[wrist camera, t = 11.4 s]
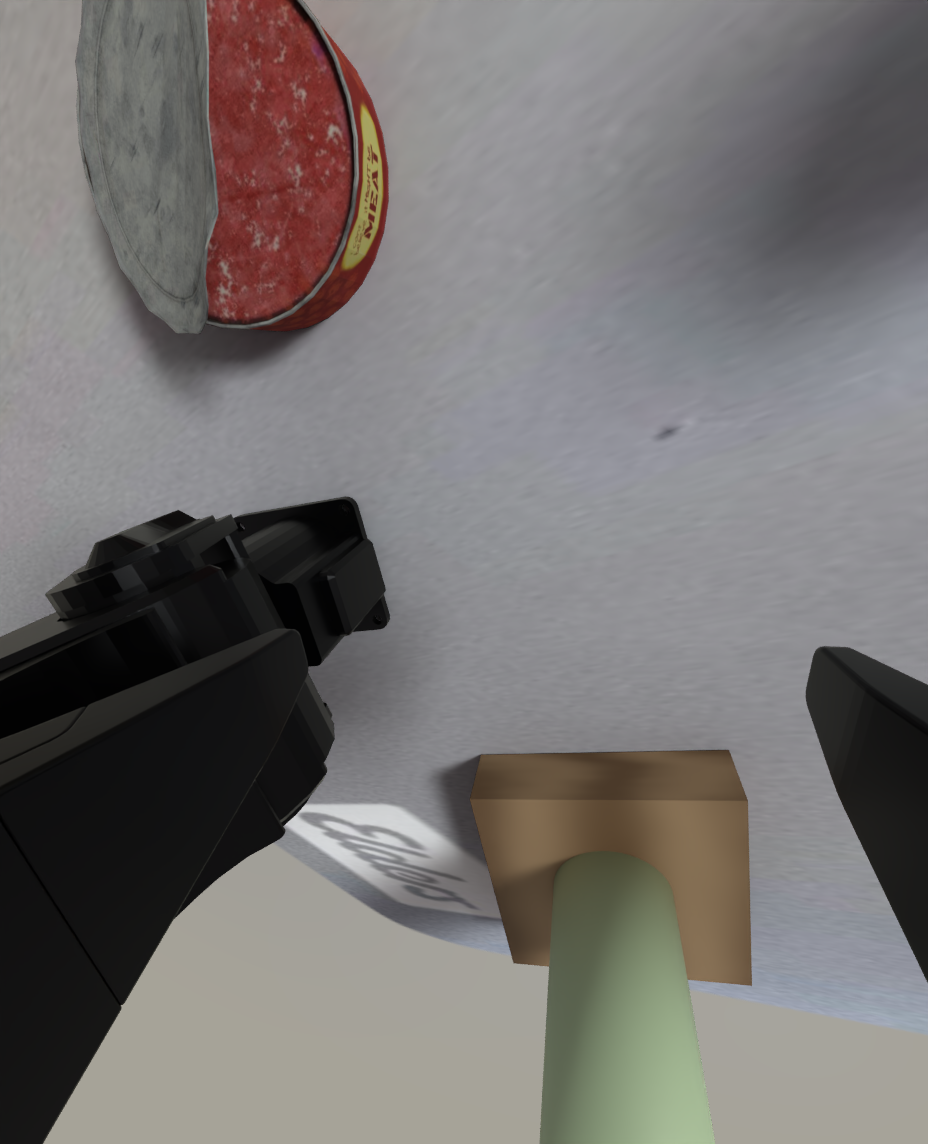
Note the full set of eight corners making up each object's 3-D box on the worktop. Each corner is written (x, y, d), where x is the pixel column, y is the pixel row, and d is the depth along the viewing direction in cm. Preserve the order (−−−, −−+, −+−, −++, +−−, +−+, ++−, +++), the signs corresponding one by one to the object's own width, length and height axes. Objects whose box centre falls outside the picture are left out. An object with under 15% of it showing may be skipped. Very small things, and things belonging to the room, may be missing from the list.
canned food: (351, 339, 25) (196, 448, 19) (181, 155, 22) (-60, 215, 16) (495, 112, 16) (289, 184, 10) (242, -234, 14) (-226, -402, 8)
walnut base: (519, 910, 31) (513, 963, 28) (481, 754, 27) (469, 799, 24) (735, 924, 28) (751, 985, 25) (728, 750, 24) (747, 800, 21)
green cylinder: (562, 927, 26) (546, 1381, 15) (545, 849, 25) (512, 1300, 13) (677, 936, 25) (761, 1450, 13) (669, 853, 23) (759, 1368, 11)
